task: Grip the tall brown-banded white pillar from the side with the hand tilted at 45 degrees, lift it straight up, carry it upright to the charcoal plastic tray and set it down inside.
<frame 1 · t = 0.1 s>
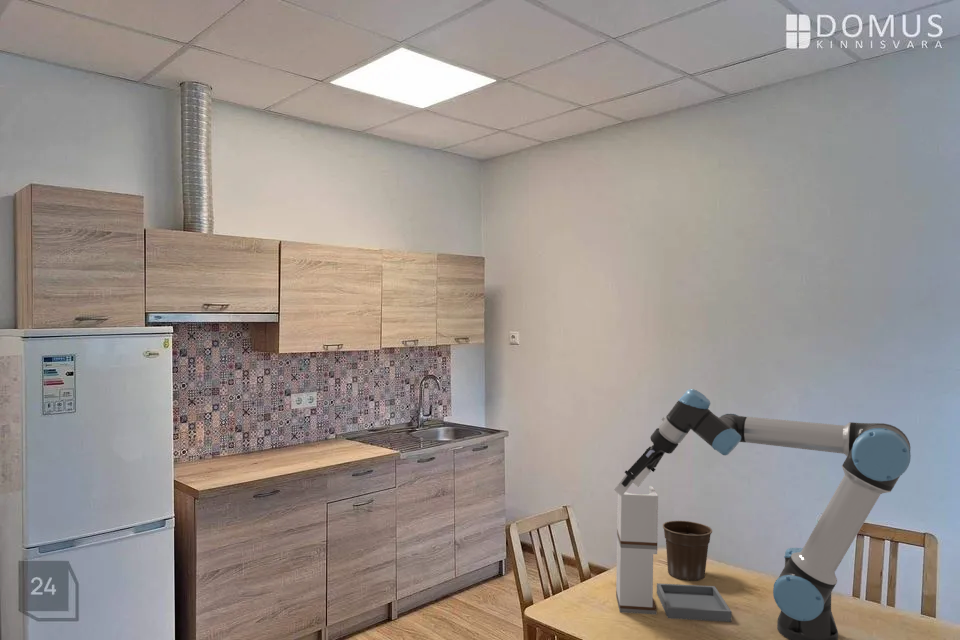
hand: (626, 488, 197), 36 cm above the table, tool tilted 35°, fingers open, 13 cm apart
plant pot: (686, 574, 223), on the table
brown-banded white pillar: (635, 605, 198), on the table
tray: (692, 606, 198), on the table
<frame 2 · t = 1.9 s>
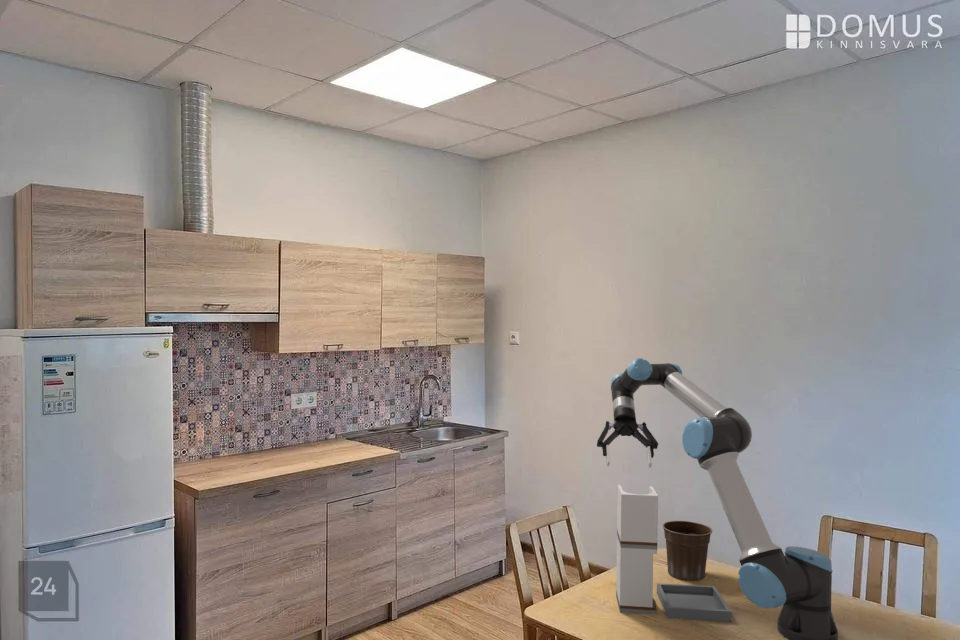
hand: (629, 464, 215), 39 cm above the table, tool tilted 45°, fingers open, 13 cm apart
nothing on the table moved.
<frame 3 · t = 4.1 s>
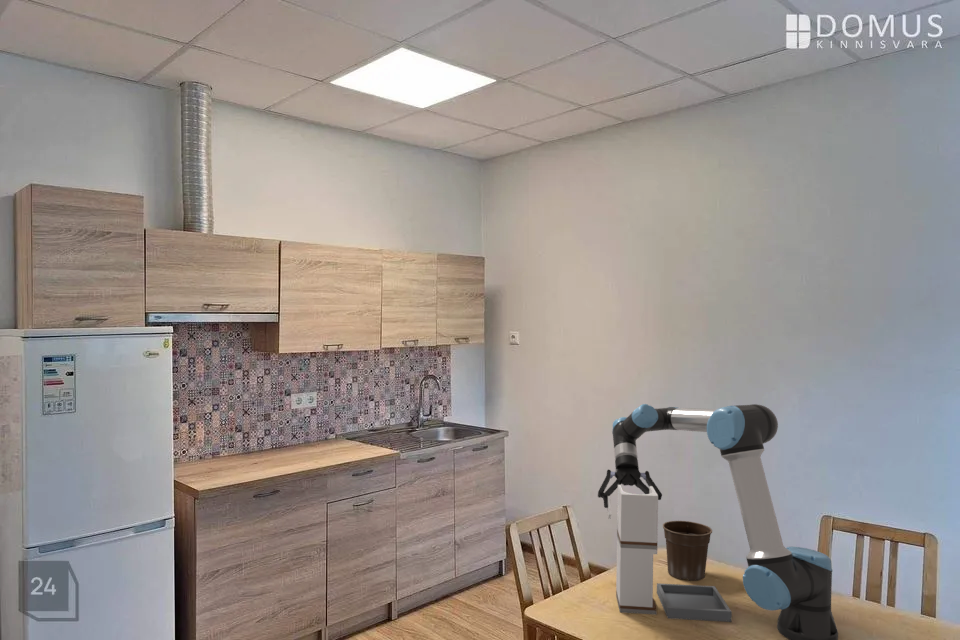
hand: (631, 517, 205), 25 cm above the table, tool tilted 45°, fingers open, 13 cm apart
nothing on the table moved.
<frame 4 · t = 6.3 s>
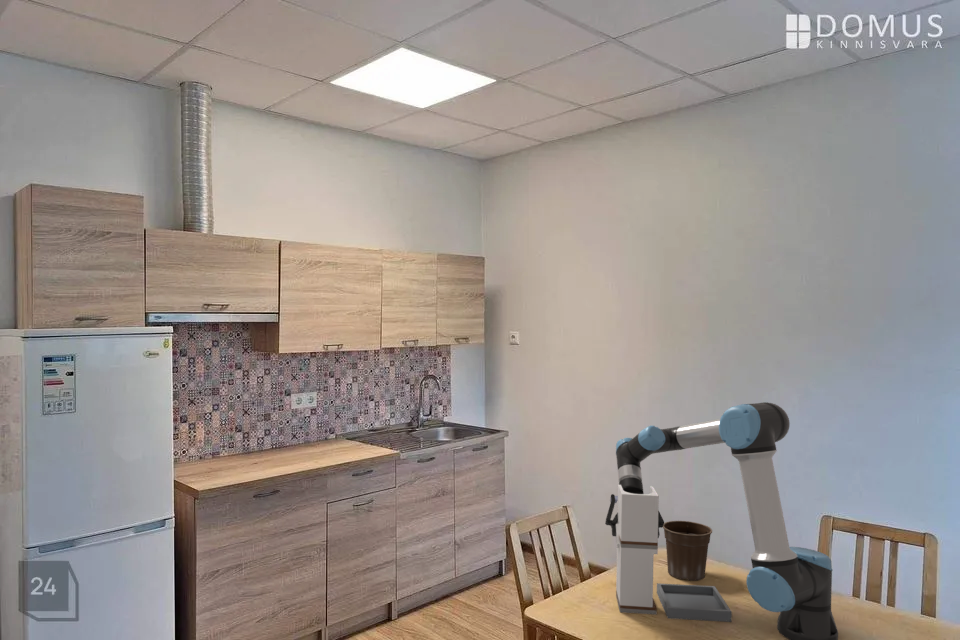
hand: (636, 546, 197), 18 cm above the table, tool tilted 45°, fingers closed on brown-banded white pillar, 10 cm apart
brown-banded white pillar: (635, 605, 198), on the table, touching gripper
everything else where it was.
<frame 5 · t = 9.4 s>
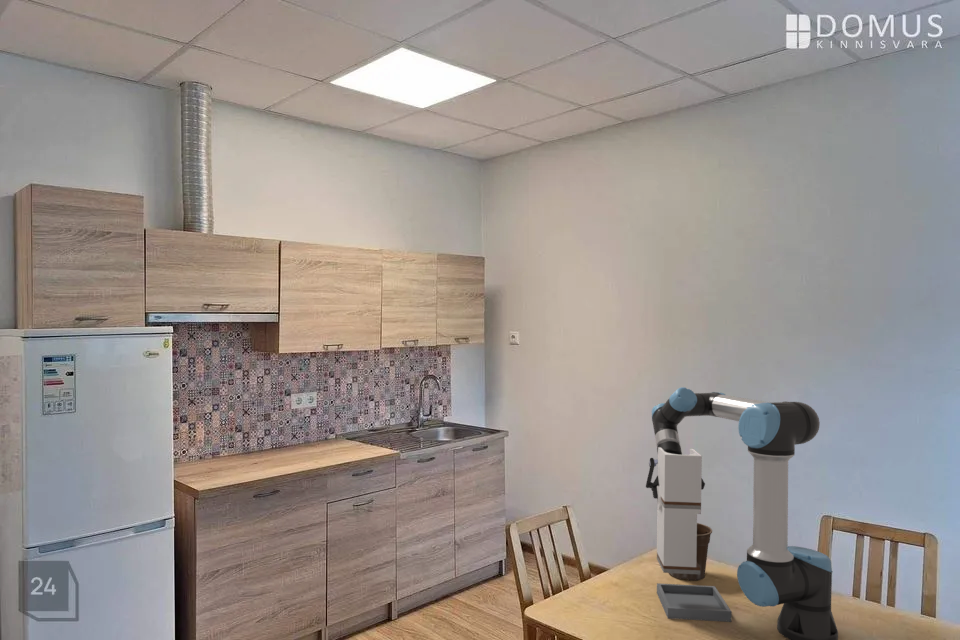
hand: (679, 507, 197), 30 cm above the table, tool tilted 45°, fingers closed on brown-banded white pillar, 10 cm apart
brown-banded white pillar: (677, 567, 198), point 12 cm above the table, touching gripper
everything else where it was.
when the fingers open (20 cm above the table, at t = 12.9 s): brown-banded white pillar drops 1 cm, resting on tray.
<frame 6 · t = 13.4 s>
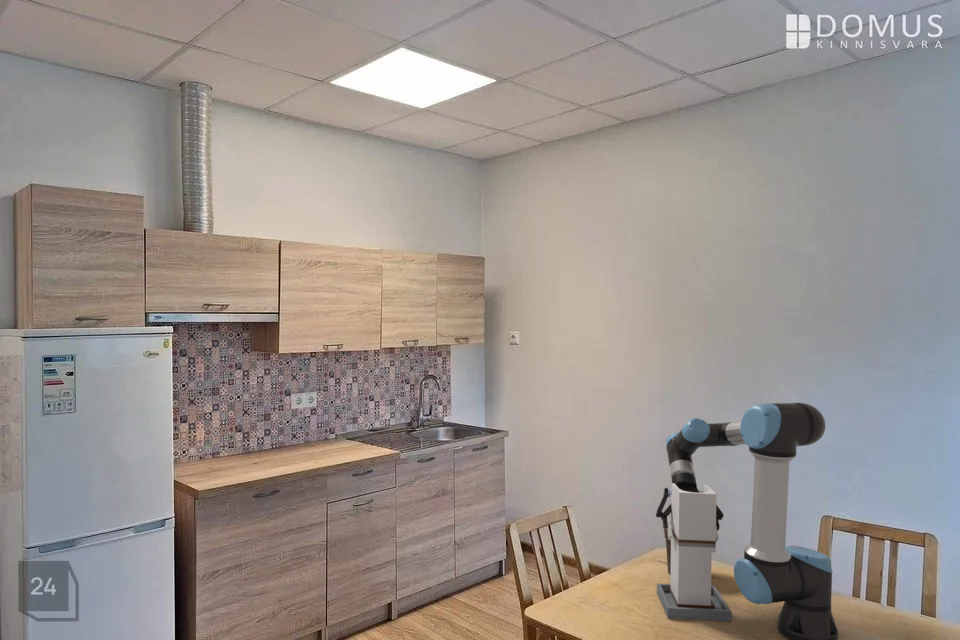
hand: (693, 538, 197), 21 cm above the table, tool tilted 45°, fingers open, 13 cm apart
brown-banded white pillar: (691, 604, 198), point 1 cm above the table, touching tray
everything else where it was.
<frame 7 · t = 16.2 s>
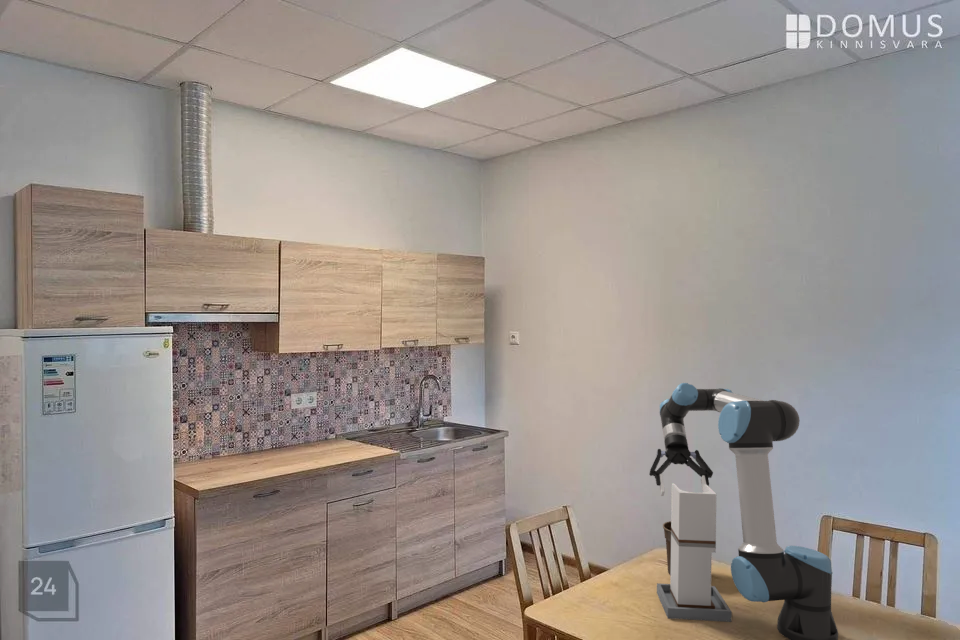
hand: (684, 494, 210), 31 cm above the table, tool tilted 45°, fingers open, 13 cm apart
nothing on the table moved.
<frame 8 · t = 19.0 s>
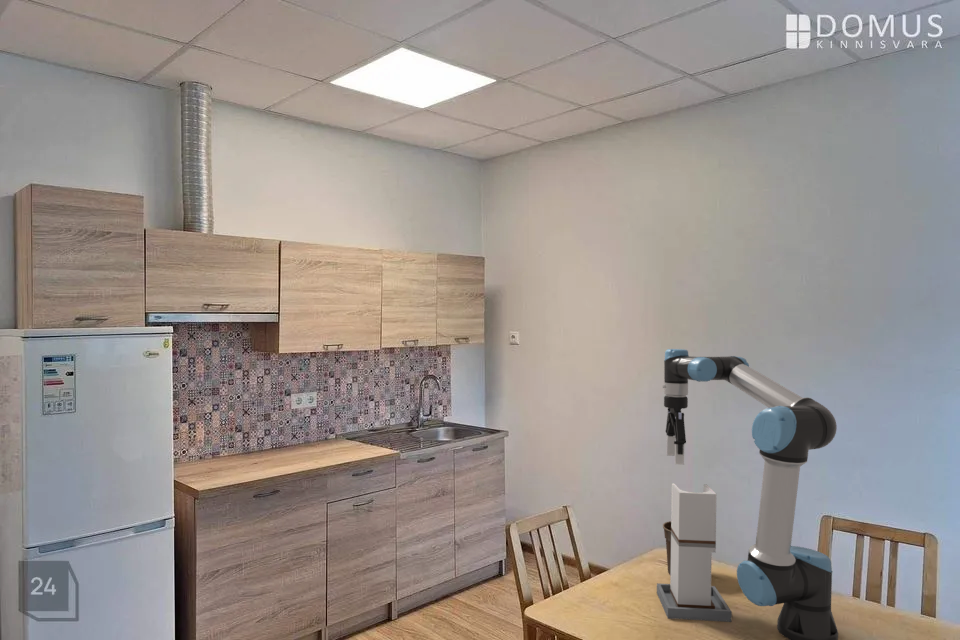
hand: (675, 459, 216), 41 cm above the table, tool pointing down, fingers open, 13 cm apart
nothing on the table moved.
at the end: brown-banded white pillar inside the target area on the tray (0.2 cm from its centre), point 0.6 cm above the tray's base; brown-banded white pillar tilted 0°; the gripper is holding nothing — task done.
